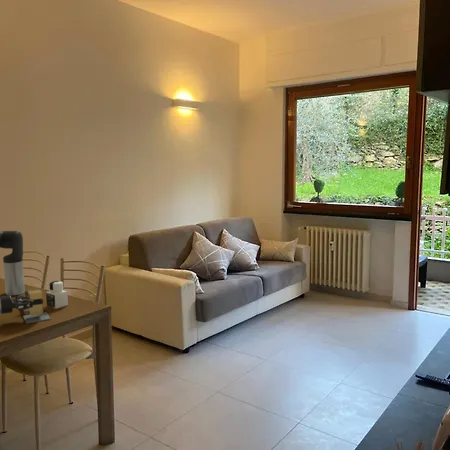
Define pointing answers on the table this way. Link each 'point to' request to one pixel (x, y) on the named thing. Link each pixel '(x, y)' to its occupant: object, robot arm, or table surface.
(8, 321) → the table surface
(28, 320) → the rubber mat
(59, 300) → the medicine bottle
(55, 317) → the table surface
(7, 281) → the robot arm
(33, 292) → the tan wooden block
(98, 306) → the table surface
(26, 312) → the plane base
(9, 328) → the table surface
